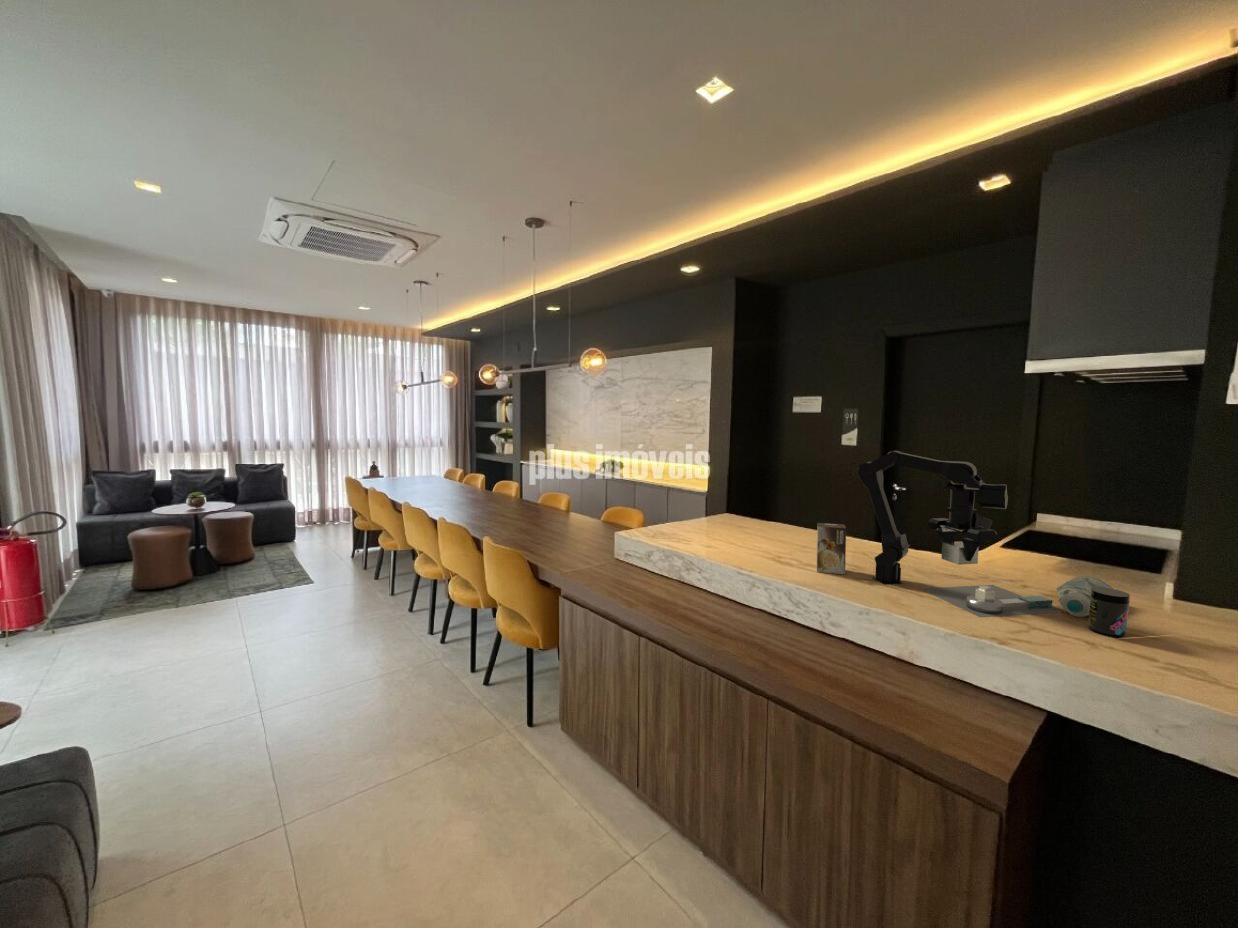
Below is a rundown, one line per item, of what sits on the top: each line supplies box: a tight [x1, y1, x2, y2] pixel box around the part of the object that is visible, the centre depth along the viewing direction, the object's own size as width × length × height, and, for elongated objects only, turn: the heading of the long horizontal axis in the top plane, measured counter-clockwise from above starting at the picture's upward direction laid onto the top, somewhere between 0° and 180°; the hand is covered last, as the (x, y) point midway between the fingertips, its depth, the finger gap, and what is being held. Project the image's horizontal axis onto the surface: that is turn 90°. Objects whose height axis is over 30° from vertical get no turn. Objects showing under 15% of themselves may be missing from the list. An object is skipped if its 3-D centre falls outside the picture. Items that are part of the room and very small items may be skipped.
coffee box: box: [816, 522, 847, 575], centre depth 169 cm, size 9×6×16 cm
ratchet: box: [966, 585, 1054, 614], centre depth 135 cm, size 23×8×6 cm, turn 97°
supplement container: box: [1087, 587, 1131, 639], centre depth 119 cm, size 7×7×10 cm
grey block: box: [941, 541, 980, 566], centre depth 144 cm, size 6×6×5 cm
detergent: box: [1056, 576, 1114, 618], centre depth 135 cm, size 13×7×25 cm
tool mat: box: [919, 584, 1064, 618], centre depth 141 cm, size 25×22×1 cm
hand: (959, 557), depth 144 cm, fingers closed on grey block, 6 cm apart
